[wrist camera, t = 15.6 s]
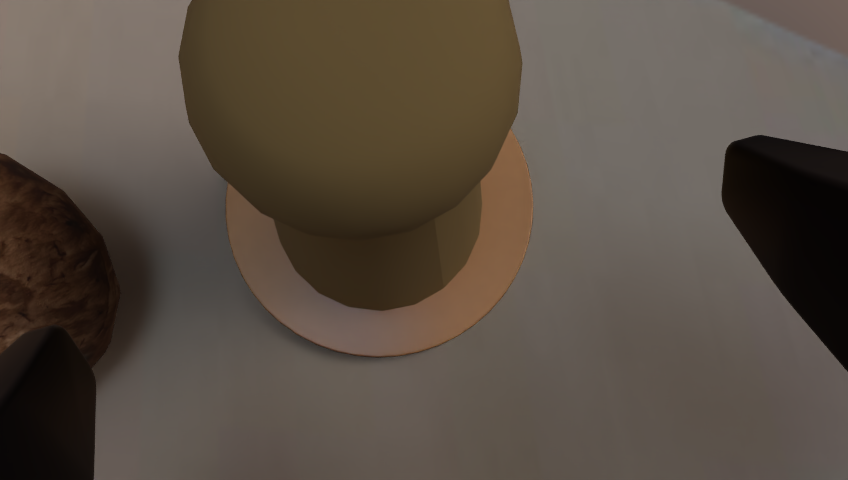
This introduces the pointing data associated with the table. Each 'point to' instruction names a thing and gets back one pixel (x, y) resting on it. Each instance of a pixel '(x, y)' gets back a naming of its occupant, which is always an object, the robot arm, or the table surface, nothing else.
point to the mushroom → (52, 265)
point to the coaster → (404, 326)
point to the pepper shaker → (357, 130)
